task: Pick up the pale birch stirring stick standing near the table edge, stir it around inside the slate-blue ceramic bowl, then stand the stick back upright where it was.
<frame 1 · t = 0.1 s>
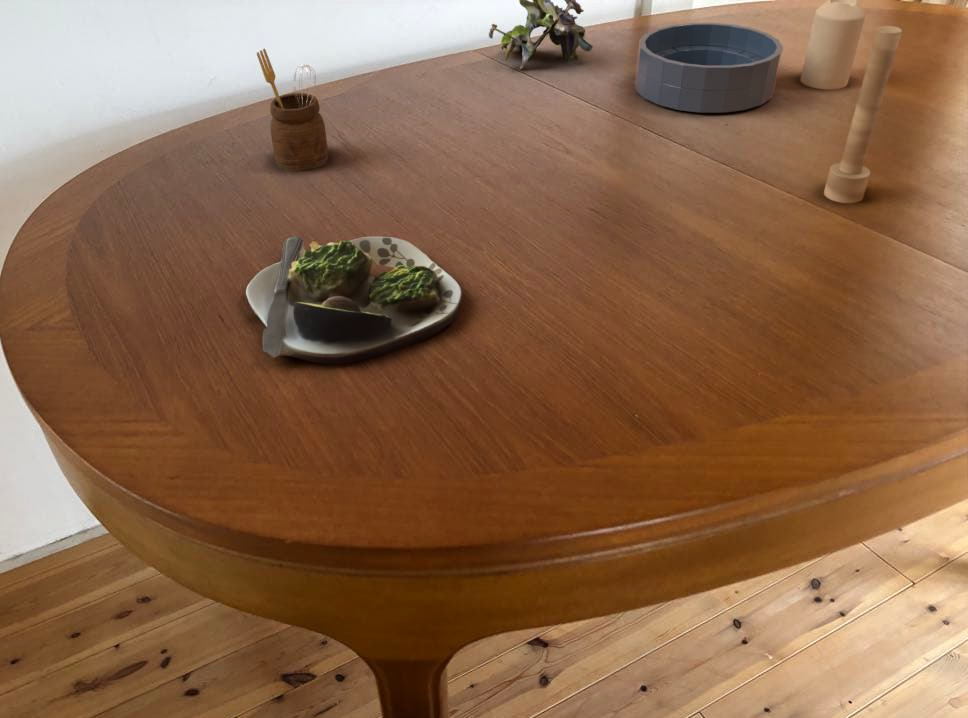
bowl: (702, 93, 109), on the table
avocado toast plate: (353, 312, 75), on the table
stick: (842, 198, 87), on the table
cream bottle: (822, 86, 110), on the table
utensil holder: (301, 164, 99), on the table
passion flower: (540, 67, 119), on the table
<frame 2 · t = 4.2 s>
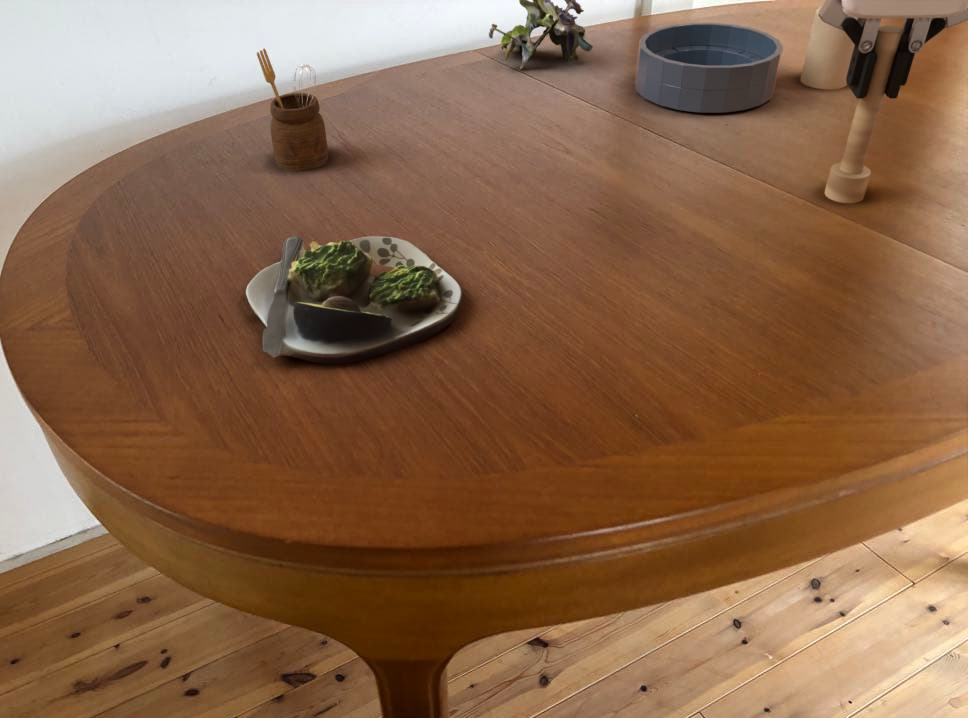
hand: (872, 91, 80), 11 cm above the table, tool pointing down, fingers closed on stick, 2 cm apart
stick: (842, 198, 87), on the table, touching gripper
everything else where it was.
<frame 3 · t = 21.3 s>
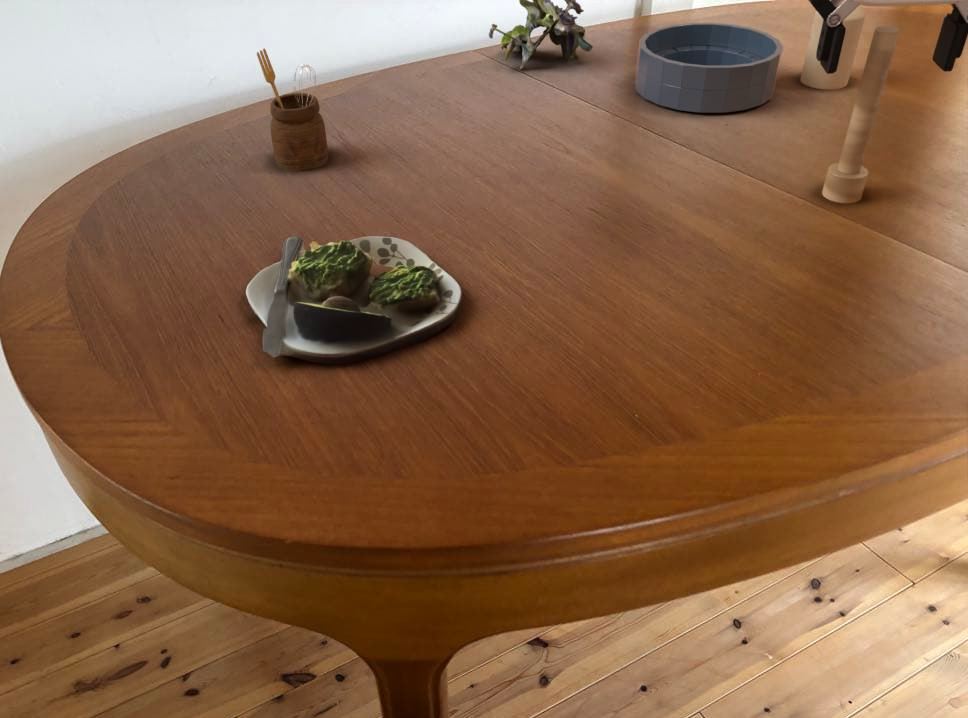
hand: (884, 67, 79), 13 cm above the table, tool pointing down, fingers open, 9 cm apart
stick: (840, 198, 87), on the table
everything else where it was.
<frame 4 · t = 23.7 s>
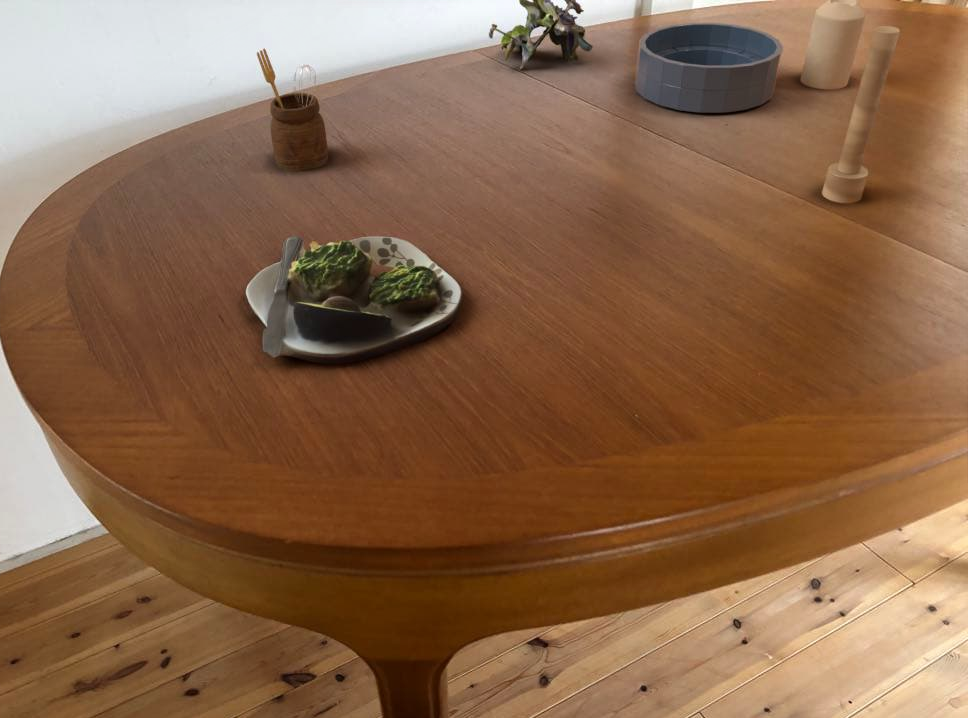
nothing on the table moved.
at the end: the gripper is holding nothing; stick tilted 0° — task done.
